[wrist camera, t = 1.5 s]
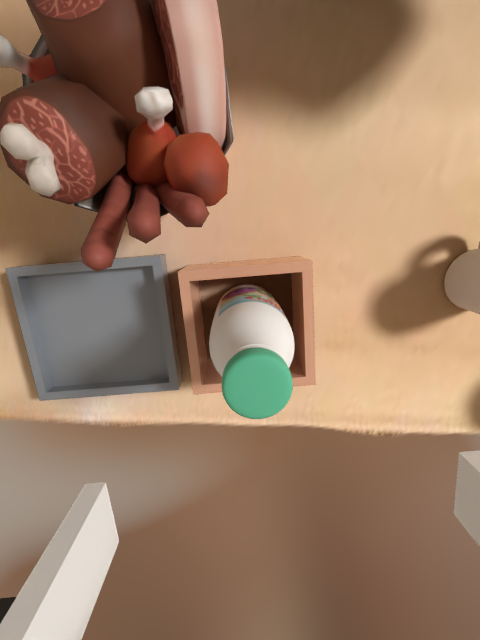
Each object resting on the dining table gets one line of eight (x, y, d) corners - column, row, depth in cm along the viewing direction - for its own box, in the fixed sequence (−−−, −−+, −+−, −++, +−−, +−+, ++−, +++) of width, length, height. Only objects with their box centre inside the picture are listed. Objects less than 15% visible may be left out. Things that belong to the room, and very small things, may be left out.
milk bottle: (263, 353, 41) (287, 458, 22) (206, 330, 41) (178, 418, 21) (289, 297, 40) (340, 358, 20) (230, 272, 39) (224, 310, 19)
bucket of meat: (50, 77, 34) (-199, -134, 14) (204, 22, 33) (157, -285, 13) (124, 266, 38) (11, 297, 19) (259, 223, 37) (283, 212, 18)
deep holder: (188, 265, 39) (177, 271, 32) (299, 256, 38) (312, 260, 32) (200, 368, 42) (193, 394, 35) (302, 360, 42) (315, 384, 35)
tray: (19, 266, 38) (5, 268, 36) (165, 254, 38) (160, 255, 36) (50, 391, 42) (39, 400, 40) (182, 380, 42) (178, 389, 40)
